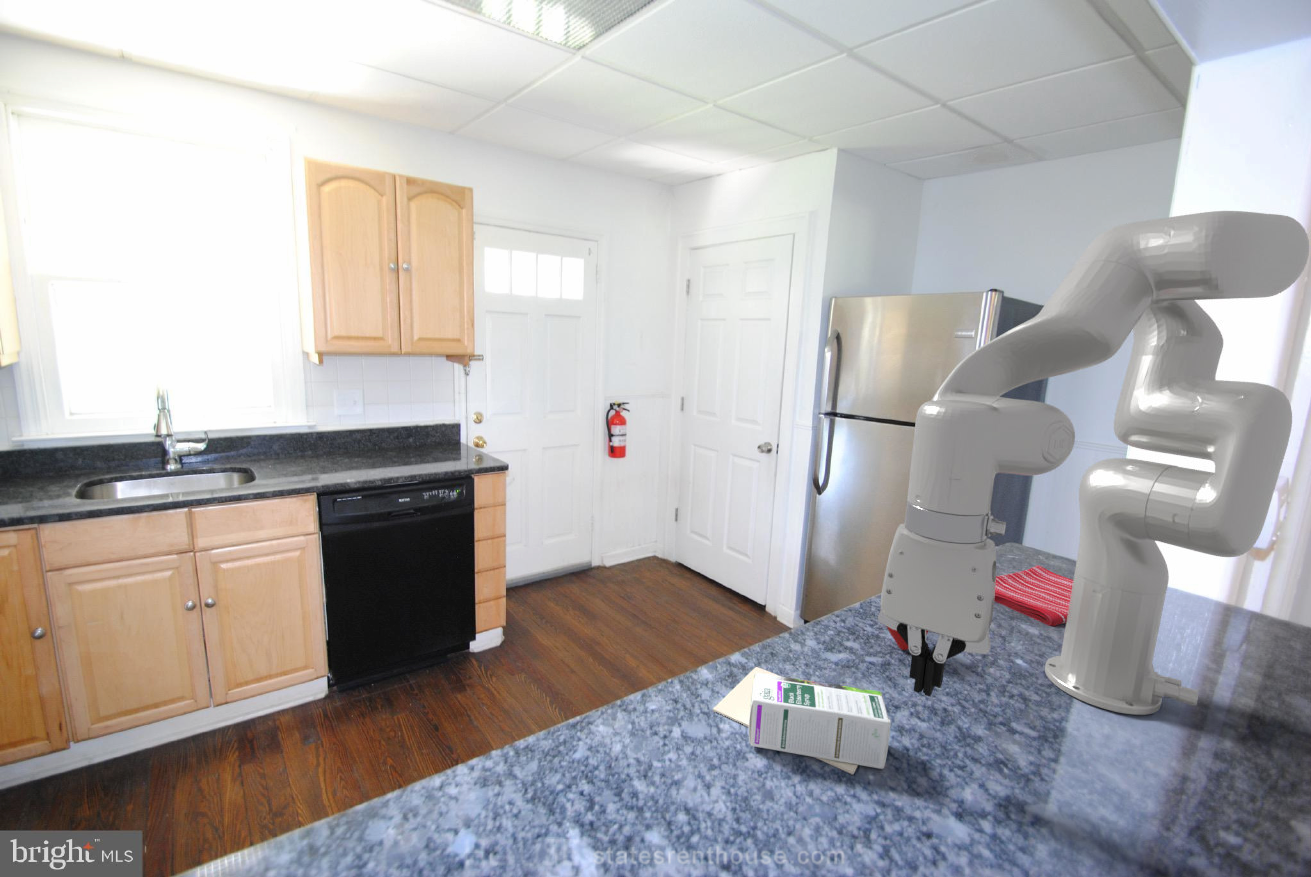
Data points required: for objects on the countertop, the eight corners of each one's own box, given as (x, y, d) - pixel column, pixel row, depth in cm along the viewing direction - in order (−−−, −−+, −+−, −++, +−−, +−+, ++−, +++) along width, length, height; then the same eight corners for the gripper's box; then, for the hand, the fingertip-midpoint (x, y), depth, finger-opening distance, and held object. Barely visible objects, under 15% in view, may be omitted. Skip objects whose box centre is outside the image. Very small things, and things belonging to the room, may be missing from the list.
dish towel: (959, 590, 111) (961, 577, 111) (1036, 574, 121) (1038, 562, 121) (1051, 631, 96) (1054, 616, 96) (1130, 608, 106) (1133, 595, 106)
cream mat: (883, 717, 71) (883, 715, 70) (853, 774, 61) (853, 772, 61) (755, 668, 80) (756, 666, 80) (712, 711, 70) (712, 708, 70)
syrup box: (891, 722, 60) (751, 697, 63) (885, 772, 61) (746, 745, 64) (882, 691, 66) (753, 669, 69) (876, 737, 67) (749, 714, 70)
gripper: (1035, 529, 57) (1009, 698, 60) (879, 501, 66) (864, 650, 69) (1029, 550, 51) (1001, 736, 54) (859, 515, 60) (843, 678, 63)
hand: (924, 687), depth 62 cm, fingers closed
